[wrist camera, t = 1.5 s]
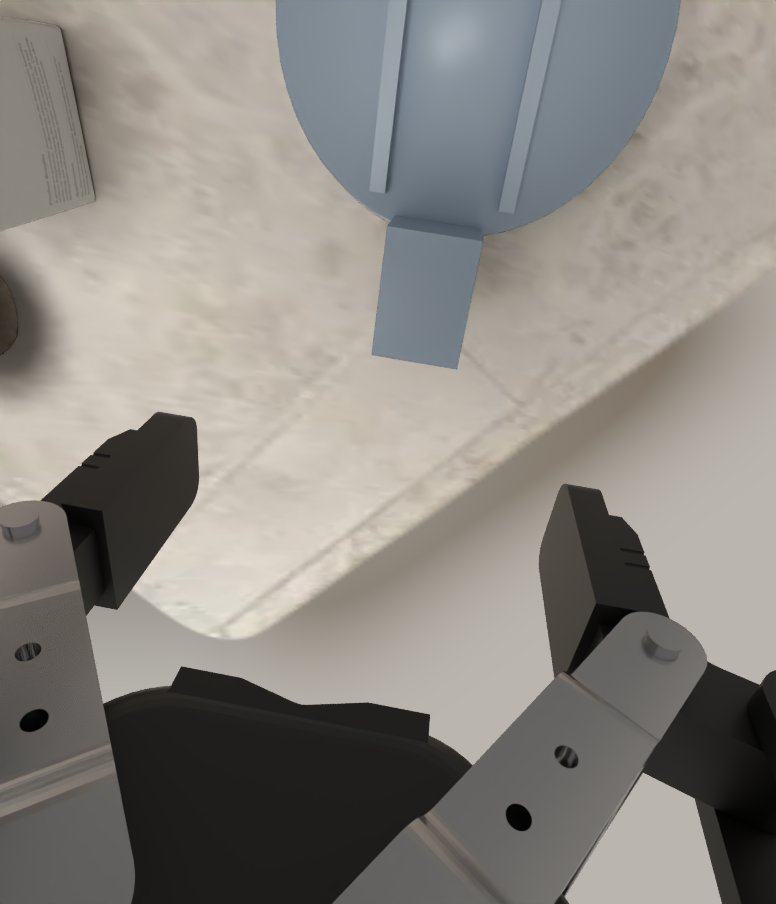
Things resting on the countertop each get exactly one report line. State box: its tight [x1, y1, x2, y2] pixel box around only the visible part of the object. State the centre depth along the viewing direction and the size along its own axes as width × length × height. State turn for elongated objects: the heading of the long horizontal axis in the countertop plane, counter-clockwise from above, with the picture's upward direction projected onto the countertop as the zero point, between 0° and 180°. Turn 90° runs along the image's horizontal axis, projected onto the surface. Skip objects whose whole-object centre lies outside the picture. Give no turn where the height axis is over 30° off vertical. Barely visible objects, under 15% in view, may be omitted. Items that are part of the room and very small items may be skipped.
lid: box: [276, 0, 681, 369], centre depth 21 cm, size 18×14×4 cm
